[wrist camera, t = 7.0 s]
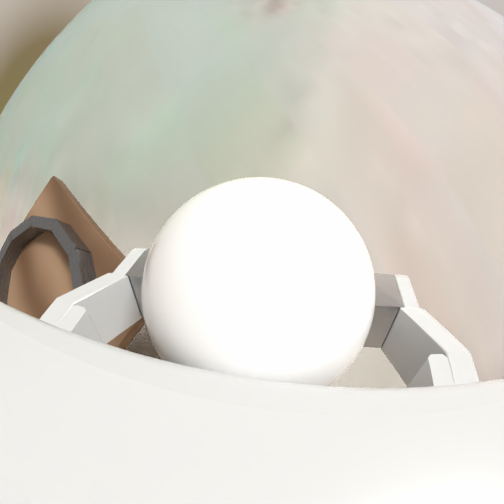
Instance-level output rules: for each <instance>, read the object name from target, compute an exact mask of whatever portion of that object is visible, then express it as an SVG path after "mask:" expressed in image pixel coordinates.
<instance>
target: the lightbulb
mask: <svg viewBox="0 0 504 504" xmlns="http://www.w3.org/2000/svg"><path fill="white" fill-rule="evenodd" d="M141 301H142V311H143V317H144V321H145V325H146V328H147V331H148V334H149V337H150V339H151V342H152V344H153V346H154V348H155V350H156V351H157V353H158V355H159V356H160V358H161V359H162V360H165V361H169V362H173V363H177V364H181V365H186V366H190V367H195V368H200V369H205V370H210V371H215V372H220V373H226V374H231V375H237V376H244V377H250V378H257V379H264V380H271V381H280V382H288V383H298V384H309V385H321V386H331V385H332V384H333V383H334V382H335V381H337V380H338V379H339V378H340V377H341V376H342V375H343V374H344V373H345V372H346V371H347V370H348V368H349V367H350V366H351V365H352V363H353V362H354V361H355V359H356V358H357V356H358V355H359V353H360V351H361V349H362V348H363V346H364V344H365V341H366V339H367V337H368V334H369V331H370V328H371V325H372V321H373V317H374V311H375V301H376V287H375V277H374V271H373V266H372V263H371V259H370V256H369V253H368V251H367V248H366V246H365V244H364V242H363V240H362V238H361V236H360V234H359V233H358V231H357V229H356V228H355V227H354V225H353V224H352V223H351V221H350V220H349V219H348V218H347V216H346V215H345V214H344V213H343V212H342V211H341V210H340V209H339V208H338V207H337V206H336V205H334V204H333V203H332V202H331V201H329V200H328V199H327V198H325V197H324V196H322V195H321V194H319V193H317V192H315V191H314V190H312V189H310V188H308V187H305V186H303V185H300V184H298V183H295V182H291V181H288V180H283V179H278V178H270V177H248V178H240V179H234V180H230V181H226V182H223V183H220V184H217V185H215V186H212V187H210V188H208V189H206V190H204V191H202V192H200V193H199V194H197V195H195V196H194V197H192V198H191V199H189V200H188V201H187V202H185V203H184V204H183V205H182V206H181V207H179V208H178V209H177V210H176V211H175V212H174V213H173V214H172V215H171V217H170V218H169V219H168V220H167V221H166V223H165V224H164V225H163V227H162V228H161V230H160V231H159V233H158V234H157V236H156V238H155V240H154V242H153V244H152V246H151V248H150V251H149V253H148V256H147V259H146V262H145V266H144V271H143V276H142V285H141Z"/></svg>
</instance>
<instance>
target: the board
mask: <svg viewBox="0 0 504 504" xmlns="http://www.w3.org/2000/svg"><path fill="white" fill-rule="evenodd" d="M32 215H33V216H40V217H47V218H54V219H58V220H60V221H62V222H64V223H66V224H69V225H71V226H72V227H73V229H74V230H75V232H76V233H77V234H78V236H79V237H80V238H81V240H82V241H83V242H84V243H85V245H86V246H87V247H88V249H89V250H90V251H91V254H92V257H93V262H94V268H95V273H96V278H99V277H101V276H103V275H105V274H107V273H113V272H114V271H115V269H116V268H117V267H118V266H119V265H120V264H121V262H122V261H123V260H124V259H125V258H126V257H125V256H124V255H123V254H122V253H121V252H120V251H119V250H118V248H117V247H116V246H115V245H114V244H113V243H112V242H111V241H110V239H109V238H108V237H107V236H106V235H105V234H104V232H103V231H102V230H101V229H100V228H99V227H98V225H97V224H96V223H95V222H94V221H93V219H92V218H91V217H90V216H89V215H88V213H87V212H86V211H85V210H84V208H83V207H82V206H81V205H80V204H79V202H78V201H77V200H76V198H75V197H74V196H73V195H72V193H71V192H70V191H69V190H68V188H67V187H66V186H65V184H64V183H63V182H62V181H61V180H59V179H58V178H56V177H55V176H53V177H52V178H51V180H50V181H49V183H48V184H47V185H46V187H45V188H44V190H43V191H42V193H41V194H40V196H39V197H38V199H37V200H36V202H35V204H34V205H33V207H32V208H31V210H30V212H29V213H28V215H27V216H26V218H25V220H26V219H28V218H29V217H31V216H32ZM25 220H24V221H25ZM72 290H74V289H73V284H72V278H71V272H70V265H69V258H68V255H67V253H66V252H65V250H64V249H63V247H62V246H61V244H60V243H59V241H58V240H57V238H56V237H55V235H54V234H53V233H48V232H44V233H42V234H41V235H39V236H38V237H36V238H35V239H33V240H32V241H30V242H29V243H28V244H26V245H25V246H24V248H23V250H22V252H21V254H20V256H19V257H18V259H17V261H16V263H15V265H14V267H13V269H12V273H11V279H10V285H9V292H8V300H7V303H8V305H9V306H11V307H13V308H15V309H17V310H19V311H22V312H24V313H26V314H28V315H31V316H33V317H35V318H38V319H40V318H41V316H42V315H43V314H44V313H45V312H46V310H47V309H48V308H49V307H50V306H51V304H52V303H53V302H54V301H55V300H56V298H58V297H60V296H62V295H64V294H66V293H68V292H70V291H72ZM144 324H145V321H144V317H142V318H141V319H140V320H138V321H137V322H136V323H134V324H133V325H131V326H130V327H129V328H127V329H126V330H125V331H123V332H122V333H120V334H119V335H118V336H116V337H115V338H114V339H112V340H111V341H109V342H108V343H107V344H108V345H111V346H114V347H117V348H121V349H124V350H125V348H126V347H127V346H128V344H129V343H130V342H131V340H132V339H133V338H134V336H135V335H136V334H137V333H138V331H139V330H140V329H141V327H142V326H143V325H144Z"/></svg>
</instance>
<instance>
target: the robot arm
mask: <svg viewBox="0 0 504 504" xmlns="http://www.w3.org/2000/svg"><path fill="white" fill-rule="evenodd" d="M149 251H150V249H144V248H134V249H133V250H132V251H131V252H130V253H129V254H128V255H127V257H126V258H125V259H124V260H123V261H122V262H121V264H120V265H119V266H118V267H117V268H116V269H115V271H114V272H113V273H107V274H105V275H103V276H101V277H99V278H97V279H95V280H93V281H91V282H88V283H86V284H84V285H82V286H80V287H78V288H76V289H74V290H72V291H70V292H68V293H66V294H64V295H62V296H60V297H58V298H56V300H55V301H54V302H53V303H52V304H51V306H50V307H49V308H48V309H47V310H46V312H45V313H44V314H43V315H42V316H41V318H40V319H38V318H35V317H33V316H31V315H28V314H26V313H24V312H22V311H19V310H17V309H15V308H13V307H11V306H9V305H7V304H4V303H2V302H0V504H504V378H502V379H496V380H490V381H483V382H479V379H478V376H477V372H476V369H475V366H474V363H473V360H472V357H471V354H470V352H469V351H468V350H467V349H466V348H465V347H464V346H463V345H462V344H461V343H460V342H459V341H458V340H457V339H456V338H455V337H454V336H453V335H452V334H451V333H449V332H448V331H447V330H446V329H445V328H444V327H443V326H442V325H441V324H440V323H439V322H438V321H436V320H435V319H434V318H433V317H432V316H431V315H430V314H429V313H428V312H426V311H425V310H424V309H420V308H419V305H418V302H417V299H416V296H415V294H414V291H413V288H412V285H411V283H410V280H409V277H408V276H407V275H395V274H393V275H389V274H377V273H374V277H375V287H376V301H375V311H374V317H373V321H372V325H371V328H370V331H369V334H368V337H367V339H366V341H365V344H364V346H363V347H376V348H381V349H382V351H383V352H384V354H385V355H386V356H387V358H388V359H389V361H390V362H391V364H392V365H393V366H394V368H395V369H396V371H397V372H398V374H399V375H400V376H401V378H402V379H403V381H404V382H405V384H406V385H407V388H362V387H337V386H321V385H309V384H298V383H288V382H280V381H271V380H264V379H257V378H250V377H244V376H237V375H231V374H226V373H220V372H215V371H210V370H205V369H200V368H195V367H190V366H186V365H181V364H177V363H173V362H169V361H165V360H161V359H157V358H153V357H149V356H145V355H142V354H138V353H134V352H131V351H128V350H124V349H121V348H117V347H114V346H111V345H108V344H107V343H108V342H109V341H111V340H112V339H114V338H115V337H116V336H118V335H119V334H120V333H122V332H123V331H125V330H126V329H127V328H129V327H130V326H131V325H133V324H134V323H136V322H137V321H138V320H140V319H141V318H142V317H143V311H142V301H141V285H142V276H143V271H144V266H145V262H146V259H147V256H148V253H149Z"/></svg>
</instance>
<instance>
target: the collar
mask: <svg viewBox="0 0 504 504" xmlns="http://www.w3.org/2000/svg"><path fill="white" fill-rule="evenodd" d="M44 232H48V233H53V234H54V235H55V237H56V238H57V240H58V241H59V243H60V244H61V246H62V247H63V249H64V250H65V252H66V253H67V255H68V258H69V265H70V272H71V278H72V284H73V289H76V288H78V287H80V286H82V285H84V284H86V283H88V282H91V281H93V280H95V279H97V278H96V273H95V268H94V262H93V257H92V254H91V251H90V250H89V249H88V247H87V246H86V245H85V243H84V242H83V241H82V240H81V238H80V237H79V236H78V234H77V233H76V232H75V230H74V229H73V227H72V226H71V225H69V224H66V223H64V222H62V221H60V220H58V219H54V218H47V217H40V216H33V215H32V216H31V217H29V218H28V219H26V220H25V221H24V222H23V223H21V224H20V225H19V226H17V227H16V228H15V229H13V230H12V231H11V232H10V233H9V235H8V237H7V239H6V241H5V243H4V245H3V247H2V249H1V251H0V302H2V303H4V304H7V305H8V303H7V300H8V292H9V285H10V279H11V273H12V269H13V267H14V265H15V263H16V261H17V259H18V257H19V256H20V254H21V252H22V250H23V248H24V246H25V245H26V244H28V243H29V242H30V241H32V240H33V239H35V238H36V237H38V236H39V235H41V234H42V233H44Z"/></svg>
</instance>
